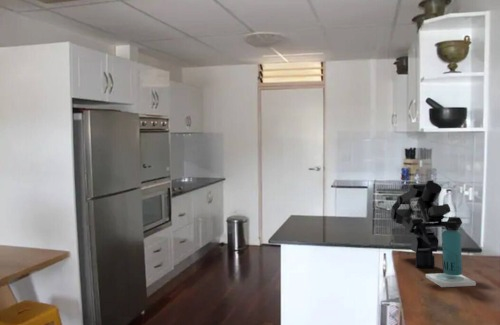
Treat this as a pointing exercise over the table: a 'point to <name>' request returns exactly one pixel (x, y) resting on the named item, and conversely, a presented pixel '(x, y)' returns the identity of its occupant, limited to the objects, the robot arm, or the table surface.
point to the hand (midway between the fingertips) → (442, 243)
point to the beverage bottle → (451, 250)
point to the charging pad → (450, 280)
